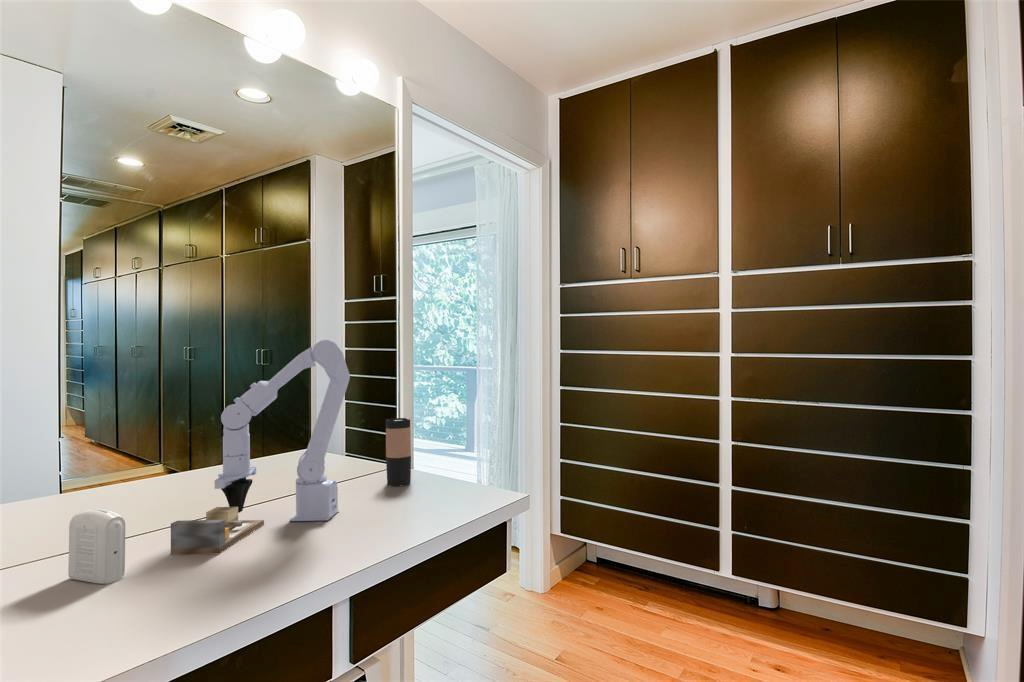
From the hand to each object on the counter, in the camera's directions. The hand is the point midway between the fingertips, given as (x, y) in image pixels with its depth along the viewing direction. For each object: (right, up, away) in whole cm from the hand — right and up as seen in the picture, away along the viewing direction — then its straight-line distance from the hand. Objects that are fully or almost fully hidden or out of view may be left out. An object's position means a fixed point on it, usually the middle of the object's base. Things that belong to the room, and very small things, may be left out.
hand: (236, 511), depth 122 cm
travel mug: (+30, -4, +38) cm, 49 cm away
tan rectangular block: (+1, -1, -6) cm, 6 cm away
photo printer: (-10, -3, -29) cm, 31 cm away
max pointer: (+4, -1, -14) cm, 15 cm away
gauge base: (+1, -3, -9) cm, 10 cm away
